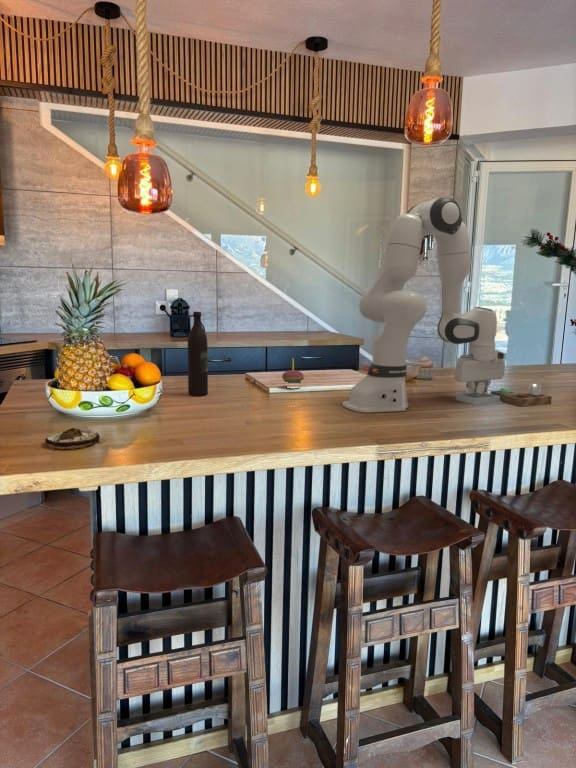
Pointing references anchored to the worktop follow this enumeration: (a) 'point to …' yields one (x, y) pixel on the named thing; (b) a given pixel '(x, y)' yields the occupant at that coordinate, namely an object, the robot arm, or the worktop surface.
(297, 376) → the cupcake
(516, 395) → the pallet
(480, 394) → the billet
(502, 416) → the worktop surface
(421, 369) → the cupcake
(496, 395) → the console
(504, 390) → the button
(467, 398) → the tray
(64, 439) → the chocolate cream tart
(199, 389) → the wine bottle
